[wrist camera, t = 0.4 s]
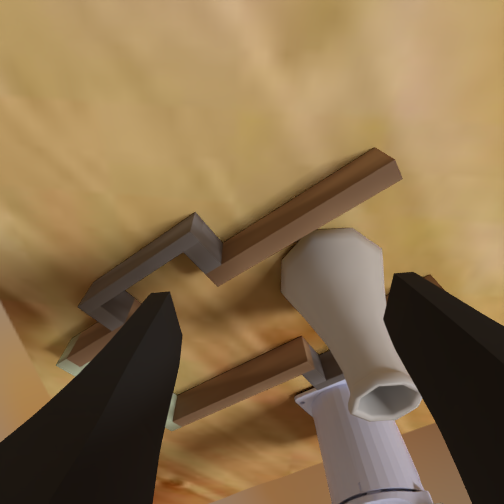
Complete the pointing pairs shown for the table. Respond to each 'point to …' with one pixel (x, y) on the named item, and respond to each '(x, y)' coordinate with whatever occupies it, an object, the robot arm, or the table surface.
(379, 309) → the flask
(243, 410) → the table surface
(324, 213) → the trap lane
